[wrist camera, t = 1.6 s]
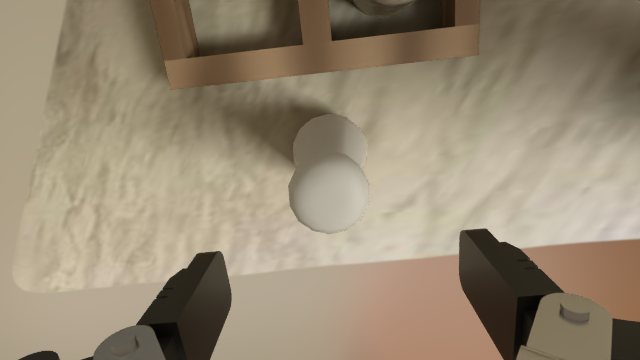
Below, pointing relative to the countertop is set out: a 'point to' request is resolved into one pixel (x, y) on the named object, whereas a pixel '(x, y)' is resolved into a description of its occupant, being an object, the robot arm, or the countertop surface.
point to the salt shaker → (329, 174)
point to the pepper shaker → (382, 6)
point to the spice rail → (309, 46)
